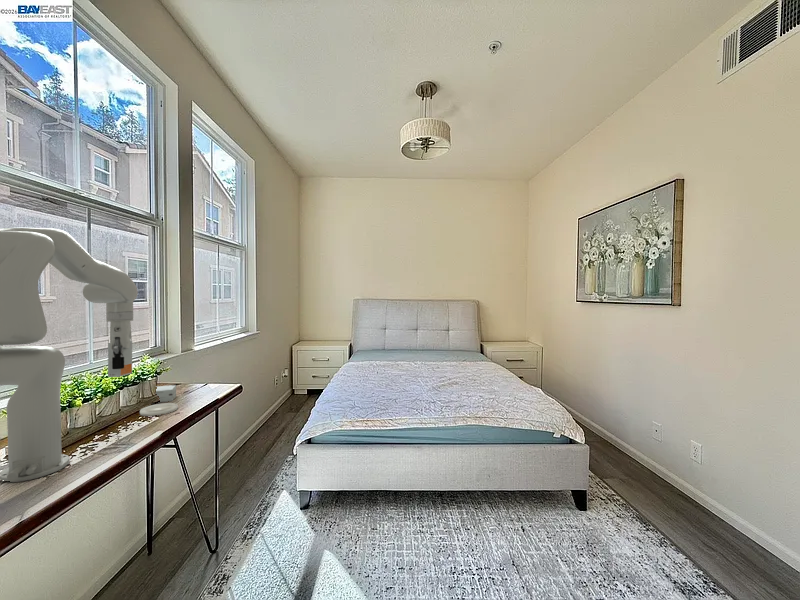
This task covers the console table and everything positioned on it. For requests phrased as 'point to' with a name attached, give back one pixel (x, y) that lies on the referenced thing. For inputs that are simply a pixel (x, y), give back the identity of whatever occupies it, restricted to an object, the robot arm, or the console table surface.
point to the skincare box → (127, 362)
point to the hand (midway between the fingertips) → (120, 366)
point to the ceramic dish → (158, 409)
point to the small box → (166, 393)
